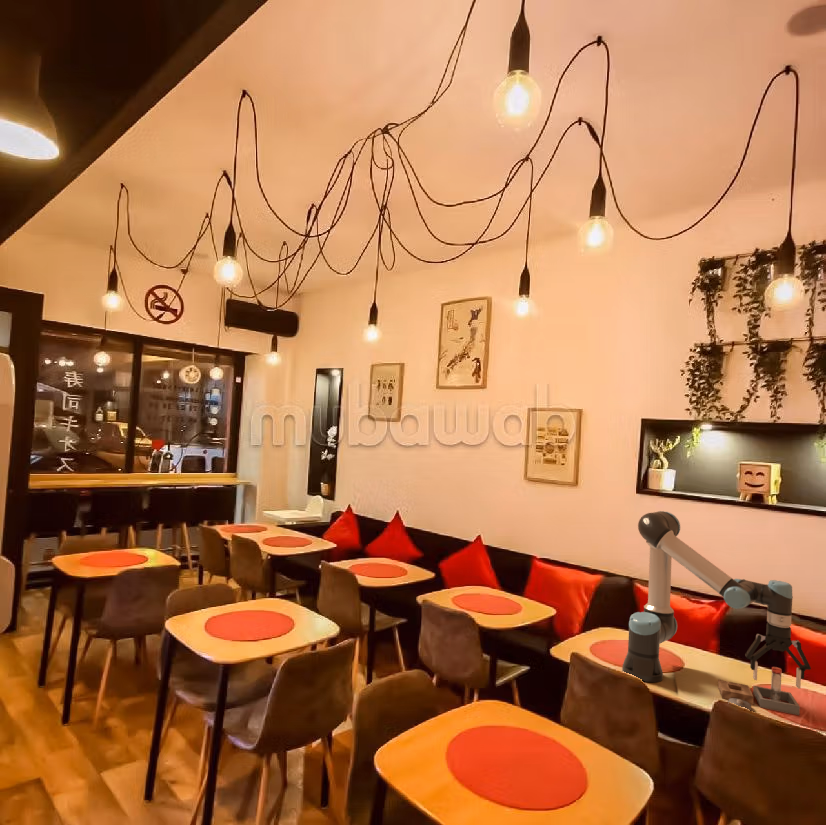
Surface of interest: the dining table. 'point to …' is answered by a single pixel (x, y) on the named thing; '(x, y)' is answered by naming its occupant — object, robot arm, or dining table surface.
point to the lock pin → (776, 684)
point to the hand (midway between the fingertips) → (776, 683)
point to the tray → (788, 707)
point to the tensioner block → (736, 693)
